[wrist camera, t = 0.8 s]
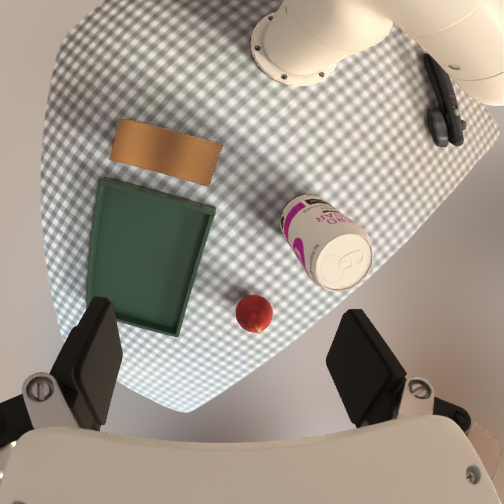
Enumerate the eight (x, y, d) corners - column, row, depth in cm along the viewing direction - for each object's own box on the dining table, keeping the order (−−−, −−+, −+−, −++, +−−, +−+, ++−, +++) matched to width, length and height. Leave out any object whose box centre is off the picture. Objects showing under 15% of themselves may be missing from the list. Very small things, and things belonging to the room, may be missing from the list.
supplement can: (290, 252, 44) (321, 307, 31) (271, 206, 41) (299, 247, 27) (335, 231, 44) (382, 277, 30) (320, 185, 40) (370, 215, 27)
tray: (105, 177, 36) (99, 179, 33) (215, 207, 40) (215, 212, 38) (90, 303, 44) (86, 311, 42) (179, 328, 48) (178, 337, 46)
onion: (229, 309, 47) (232, 340, 40) (241, 281, 45) (247, 311, 38) (260, 317, 49) (267, 347, 42) (273, 291, 47) (284, 320, 40)
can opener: (452, 143, 39) (472, 148, 34) (428, 146, 39) (449, 151, 34) (436, 54, 32) (457, 51, 26) (410, 51, 31) (431, 46, 26)
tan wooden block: (124, 155, 35) (109, 159, 29) (134, 119, 33) (120, 118, 27) (209, 178, 38) (208, 186, 33) (221, 143, 36) (222, 145, 31)
